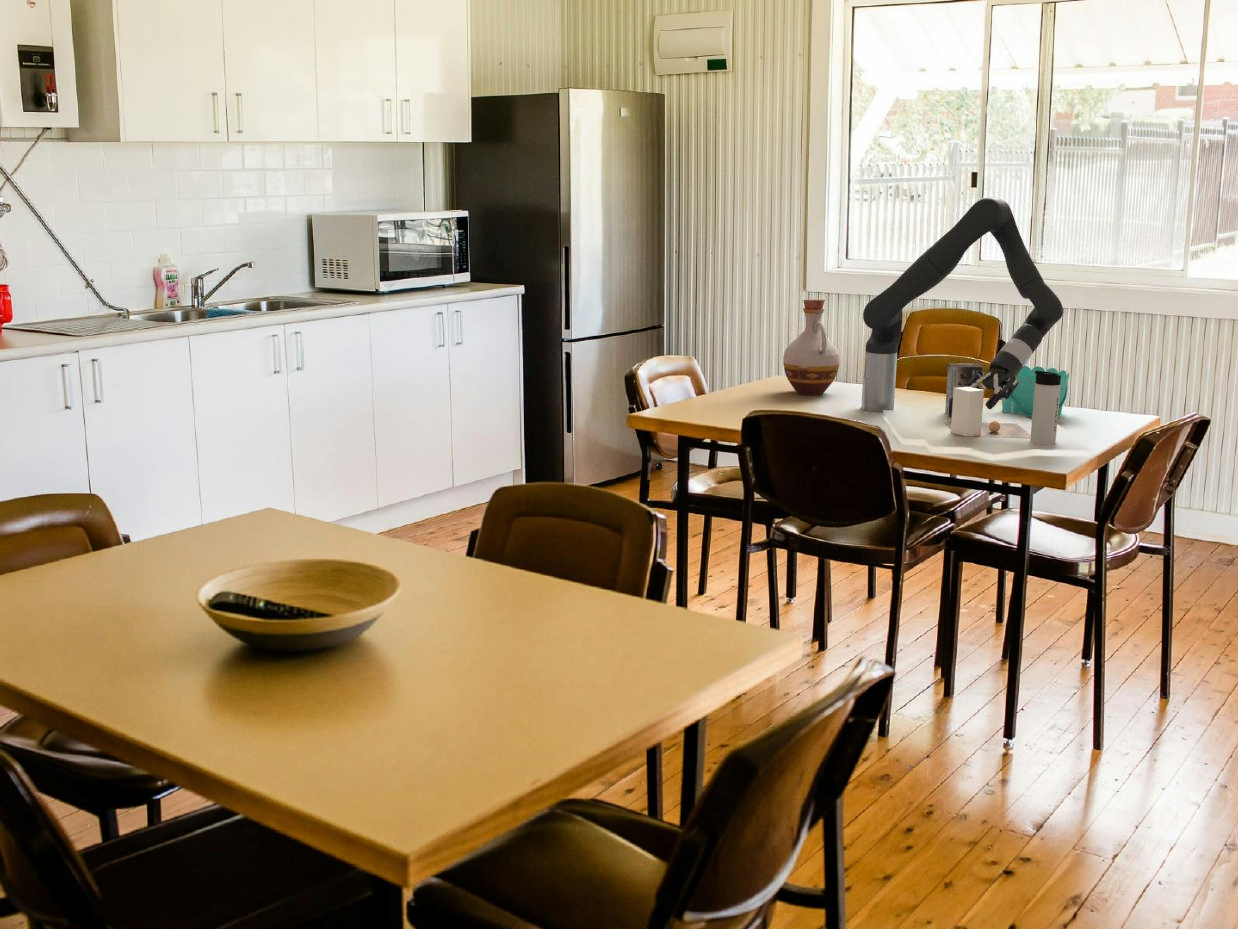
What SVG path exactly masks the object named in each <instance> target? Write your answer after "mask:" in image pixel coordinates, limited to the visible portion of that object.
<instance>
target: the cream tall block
mask: <svg viewBox="0 0 1238 929" xmlns="http://www.w3.org/2000/svg"><path fill="white" fill-rule="evenodd" d="M984 394H985V391H984V390H981V389H977V388H972V387H959V388H954V392H953V406H952V417H951V421H950V422H951V429H950V433H952V434H954V433H955V434H959V435H963V436H975V435H981V425H982V423H983V411H984V410H983V408H984V397H985V396H984ZM955 434H954V435H955Z"/></svg>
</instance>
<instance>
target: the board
mask: <svg viewBox="0 0 1238 929" xmlns="http://www.w3.org/2000/svg"><path fill="white" fill-rule="evenodd" d="M943 422H944V424H945V425H946V426H947V427H948V428H949V429H950V430H951V421H943ZM990 423H991V422H982V425H981V435H975V436H963V435H959V434H955V433H953V434H954V435H955V436H956V437H958V438H959V437H961V438H962V437H964V438H967V437H968V438H997V439H998V438H999V439H1001V438H1003V439H1030V438H1031V433H1029V432H1028V431H1027V430H1025V428H1023V427H1022V426H1021V425H1020V424H1019V423H1007V422H998V423H999V424H1000V429H999V431H997V432H992V431H990V430H989V424H990Z"/></svg>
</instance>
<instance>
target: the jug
mask: <svg viewBox="0 0 1238 929" xmlns="http://www.w3.org/2000/svg"><path fill="white" fill-rule="evenodd" d="M825 301H826V300H825V299H815V298H814V299H803V300H802V302H803V304H804V305H803V306H804V308H802V310H803V313H804V318H805V328H804V330H803V331H802V332H801V333H800V334H799V335H798V336H797V337H796V338H795V339H794V340H793V341H792V342H790V343H789V344H788V345H787V347H786V348H785V349H784V353H783V356H782V362H783V363H782V364H783V369H784V373H785V376H786V379H787V380H788V382H789V383H790V385H791V386H792V388H793V389H794V391H795V392H796V393H797V394H798V395H801V396H821V395H823V394H824V393H825V392H826V391H827V389H829V388H830V386H831V385H832V383H833V382H834V381H835V378H836V376H837V374H838V372H839V368H840V363H841V356H840V352H839V350H838V347H836V345H835V344H833V342H832V341H831V340H830V339H829V338H828V337H827V332H826V329H825V328H826V327H825V326H824V323H823V322H822V317H823V314H824V312H825V308H824V304H825Z"/></svg>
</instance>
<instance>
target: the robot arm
mask: <svg viewBox="0 0 1238 929" xmlns="http://www.w3.org/2000/svg"><path fill="white" fill-rule="evenodd" d="M989 232H990V234H991V235H992V236H993V237H994V239H995V240H996V242H997V243H998V245H999V247H1000V249H1001V252H1002V253H1003V258H1004V261H1005V264H1006V269H1007V271H1008V274H1009V276H1010V278H1011V280H1012V282H1013V284H1014V285H1015V287H1016V289H1017V292H1018V293H1019V294H1020V296H1021V298H1023V299H1025V300H1029V301H1030V302H1031V304H1032V305H1033V309H1032V310H1031V311H1030V312H1029V313H1028V315H1027V317H1025V319H1024V320H1023V323H1022V324H1021V325H1020V327H1019V328H1018V329H1017V330H1016V331H1015V332H1014V334H1013V335H1012V336H1011V337H1010V339H1009V340H1008V341H1007V342H1006V343H1005V344H1004V345H1003V347H1002V348H1001V349H1000V350H999V352H998V353H997V354H996V355H995V356H994V358H993V359H992V361H991V362H990V364H989V369H988V370H987V371H985V372H984V371H983V372H982V371H981V369H979V370H977V372H976V373H975V374H974V375H973V376H972V377H971V379H970V380H969V381H968V382H967V383H966V386H967V387H972V388H976V387H977V386H979V388H977V389H981V390H984V392H985V391H986V390H992V391H994V393H992V394H991V396H990V397H989V398H988V399H987V401H986V402H985V407H986V408H987V409H988V410H992V409H993V408H995V406H996V405H997V404H998V402H999V401H1000V400H1001V401H1002V398H1005V399H1008V398H1009V397H1010V395H1011V394H1012V392H1013V391H1014V390H1015V388H1016V387H1017V385H1018V384H1019V382H1018V380H1017V379H1016V378H1015V377H1016V376H1017V375H1018V373H1019V372H1020V371H1021V370H1022V368H1023V367H1024V366H1026V364H1027V363H1028V362H1029V360H1030V359H1031V357H1032V355H1033V354H1034V353H1035V351H1036V350H1037V348H1038V347H1039V346H1040V344H1041V343H1042V341H1043V338H1044V337H1045V335H1047V334H1048V332H1049V331H1050V330H1051V329H1052V328H1053V327H1054V325H1056V324H1057V323H1058V322H1059V321H1060V320H1061V319H1062V317H1063V314H1064V307H1063V305H1062V302H1061V300H1060V298H1059V297H1058V295H1056V294H1055V292H1054V291H1053V290H1052V289H1051V287H1049V286H1048V284H1046V282H1045V281H1044V279H1043V277H1042V275H1041V273H1040V271H1039V269H1038V267H1037V266H1036V264H1035V263H1034V261H1033V259H1032V257H1031V255H1030V254H1029V252H1028V249H1027V248H1026V245H1025V243H1024V240H1023V238H1022V235H1021V233H1020V232H1019V228H1018V226H1017V223H1016V220H1015V217H1014V214H1013V211H1012V208H1011V207H1010V204H1009V203H1007V201H1006V200H1004V199H1002V198H998V197H989V196H987V197H982V198H980V199H978V200H977V201H976V202H974V204H972V206H971V207H970V208H969V209H968V210H967V211H966V213H964V215H963V216H962V217H961V218H960V219H959V220H958V221H957V222H956V224H955V225H954V226H952V228H951V229H949V231H947V232H946V233H945V234H943V236H941V237H940V238H939V239H938V240H937V241H936V242H935V243H934V244H933V245H931V246H930V247H929V248H928V249H927V250H926V251H925V252H923V253H922V254H921V255H920V256H919V257H918V258H917V259H916V260H915V261H914V262H913V263H912V264H911V265H910V266H909V267H908V268H907V269H906V270H905V271H904V272H903V273H902V274H901V275H900V276H899V277H898V278H897V279H896V281H894V282H893V283H892V284H891V285H890V286H889V287H887V288H885V289H884V290H883V291H882V292H881V293H879V294H878V295H877V296H876V297H874V298H873V299H871V300H870V301H869V302H868V303H867V304H866V305H865V307H864V309H863V313H862V319H863V322H864V324H865V326H866V327H868V328H870V329H871V334H870V337H869V338H868V340H867V341H866V343H865V354H864V356H865V357H864V371H863V377H862V388H861V409H862V410H863V411H869V412H881V413H882V412H884V411H891V412H893V411H894V410H895V399H896V398H895V397H896V396H895V394H896V379H897V378H896V376H897V364H898V363H897V362H898V348H899V344H900V342H901V337H902V329H903V318H904V317H903V315H904V314H903V309H904V308H905V307H906V306H907V305H908V304H909V303H911V302H912V301H914V300H915V299H917V298H918V297H920V296H922V295H924V294H925V293H928V291H930V290H931V289H933V288H935V287H936V286H937V285H938V284H940V283H941V282H943V280H944V279H945V278H947V277H948V276H949V275H950V274H951V273H952V272H953V271H954V270H955V268H956V267H957V266H958V264H959V263H960V262H961V261H962V258H963V257H964V254H966V251H967V250H968V249H969V248H970V247H971V246H972V245H973V244H974V243H975V242H977V241H978V240H979V239H981V238H982V237H983V236H985V235H986V234H987V233H989ZM973 382H974V384H972V383H973ZM981 382H982V384H981ZM1007 390H1008V392H1006V391H1007Z"/></svg>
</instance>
